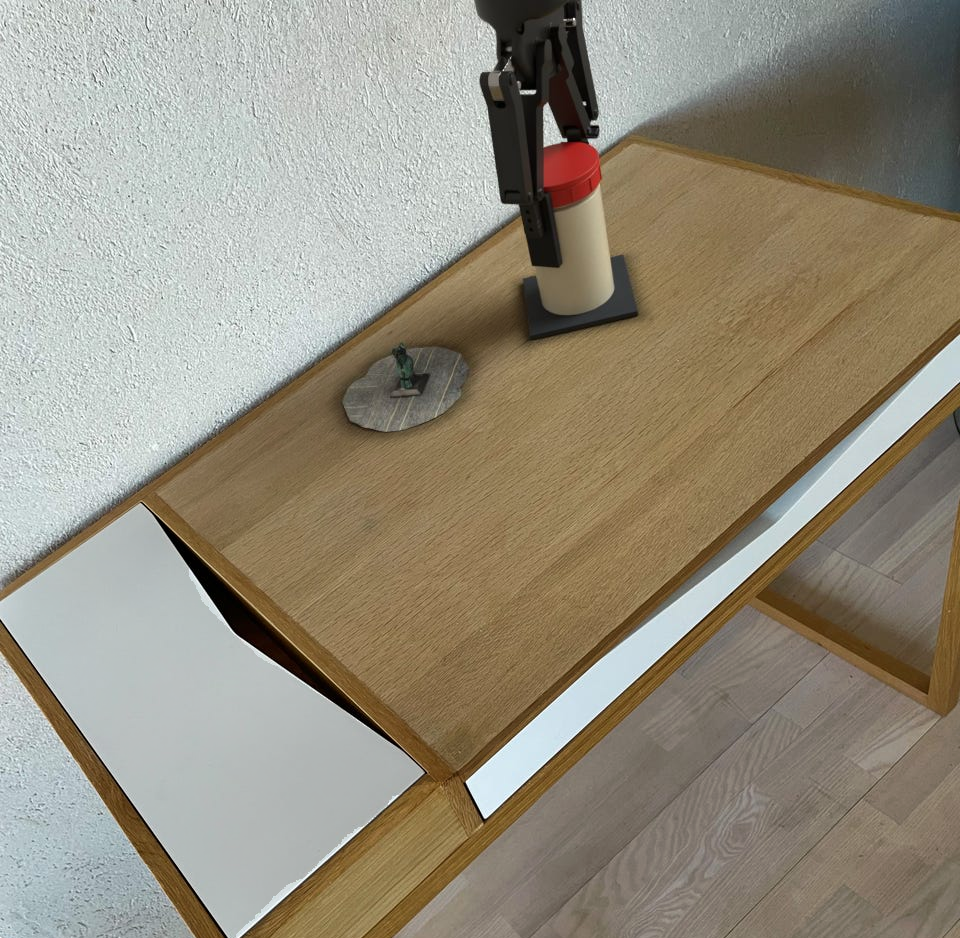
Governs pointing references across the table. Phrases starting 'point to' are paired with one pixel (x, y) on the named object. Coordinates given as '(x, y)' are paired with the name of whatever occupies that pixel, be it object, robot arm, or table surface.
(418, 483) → the table surface
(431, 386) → the sculpture
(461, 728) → the table surface
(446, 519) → the table surface
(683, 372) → the table surface
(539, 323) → the mat
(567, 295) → the jar
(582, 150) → the lid
